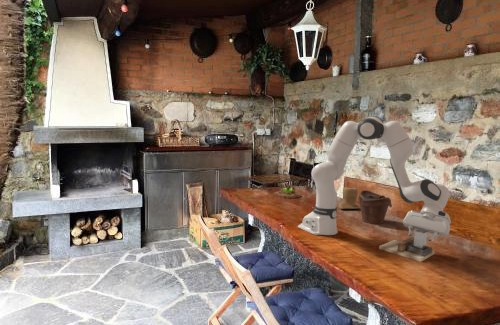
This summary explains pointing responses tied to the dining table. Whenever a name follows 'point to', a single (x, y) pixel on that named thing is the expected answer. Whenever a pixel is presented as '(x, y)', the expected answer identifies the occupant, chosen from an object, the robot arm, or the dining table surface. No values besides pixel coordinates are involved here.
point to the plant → (287, 193)
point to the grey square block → (420, 239)
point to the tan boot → (349, 199)
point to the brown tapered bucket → (373, 207)
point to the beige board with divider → (407, 249)
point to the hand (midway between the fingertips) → (420, 237)
